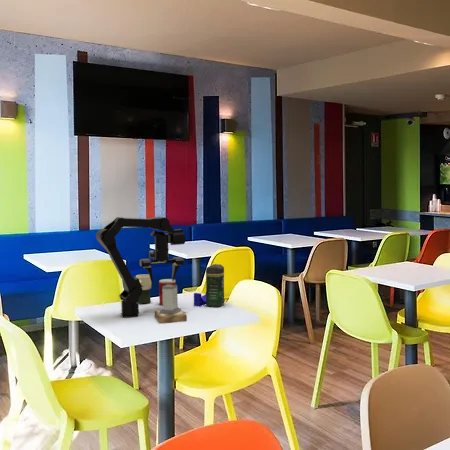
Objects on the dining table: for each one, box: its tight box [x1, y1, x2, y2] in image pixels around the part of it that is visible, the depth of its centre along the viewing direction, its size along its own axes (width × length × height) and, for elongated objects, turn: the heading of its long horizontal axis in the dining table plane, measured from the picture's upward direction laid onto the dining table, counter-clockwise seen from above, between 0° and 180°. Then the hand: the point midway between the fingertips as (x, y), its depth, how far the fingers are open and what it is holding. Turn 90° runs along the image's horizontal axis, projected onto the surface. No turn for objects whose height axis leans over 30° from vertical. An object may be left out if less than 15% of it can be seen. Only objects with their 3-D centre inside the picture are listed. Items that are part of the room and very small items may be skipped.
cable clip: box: [193, 292, 206, 308], centre depth 250 cm, size 12×4×6 cm, turn 150°
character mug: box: [135, 273, 152, 304], centre depth 253 cm, size 11×7×13 cm, turn 166°
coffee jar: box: [205, 263, 225, 308], centre depth 247 cm, size 10×8×19 cm
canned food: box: [158, 278, 177, 306], centre depth 250 cm, size 8×8×11 cm
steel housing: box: [160, 284, 182, 315], centre depth 222 cm, size 6×6×11 cm
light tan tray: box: [154, 309, 188, 324], centre depth 222 cm, size 11×11×3 cm
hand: (162, 281), depth 236 cm, fingers open, 9 cm apart
